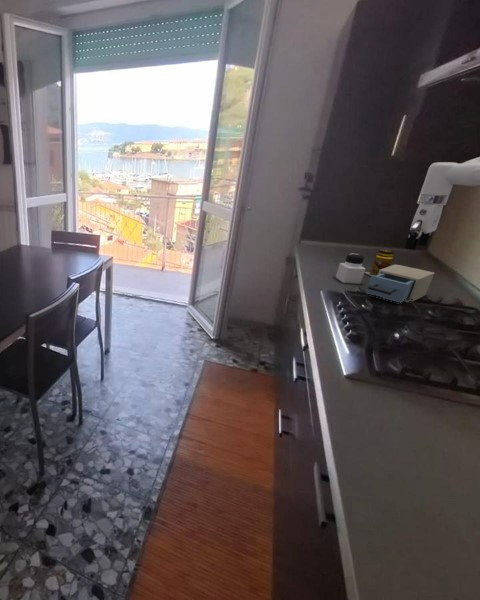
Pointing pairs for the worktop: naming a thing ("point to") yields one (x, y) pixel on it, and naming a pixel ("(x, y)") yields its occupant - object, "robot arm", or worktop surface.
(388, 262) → the condiment
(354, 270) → the medicine bottle
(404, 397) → the worktop surface
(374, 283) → the blue drawer
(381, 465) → the worktop surface
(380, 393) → the worktop surface
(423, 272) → the small drawer box
